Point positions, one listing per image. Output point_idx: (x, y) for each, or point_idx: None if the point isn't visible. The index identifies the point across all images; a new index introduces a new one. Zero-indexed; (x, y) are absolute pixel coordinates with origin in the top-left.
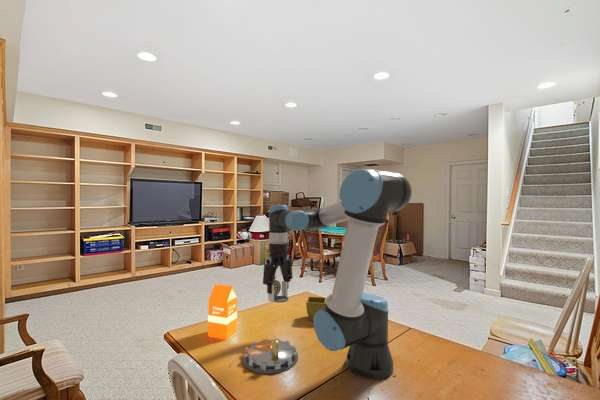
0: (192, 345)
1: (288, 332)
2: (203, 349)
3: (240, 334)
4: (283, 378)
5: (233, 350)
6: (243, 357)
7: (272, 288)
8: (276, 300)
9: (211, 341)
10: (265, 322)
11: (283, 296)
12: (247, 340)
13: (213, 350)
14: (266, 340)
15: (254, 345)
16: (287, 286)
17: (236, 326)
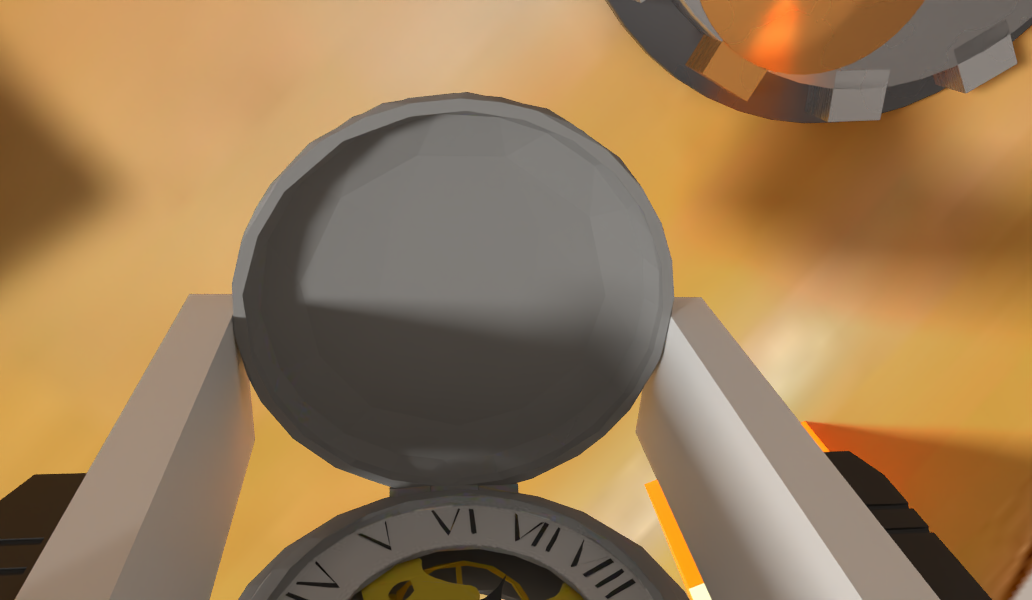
0: (999, 505)
1: (266, 111)
2: (1013, 407)
3: None
4: None
5: (919, 229)
6: (1018, 29)
7: (877, 536)
8: (535, 338)
9: (887, 473)
10: (301, 475)
11: (270, 379)
12: (709, 291)
13: (993, 344)
14: (742, 41)
15: (901, 57)
16: (74, 503)
17: (665, 519)
